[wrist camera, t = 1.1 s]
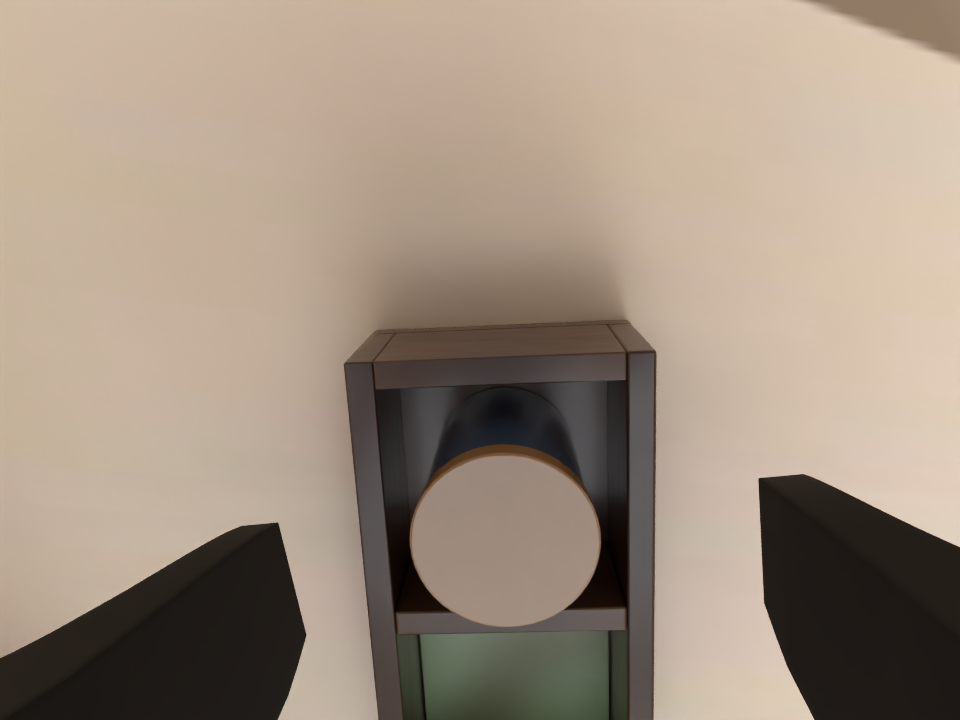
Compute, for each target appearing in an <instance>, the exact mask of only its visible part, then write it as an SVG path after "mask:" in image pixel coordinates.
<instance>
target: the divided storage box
mask: <svg viewBox="0 0 960 720" xmlns="http://www.w3.org/2000/svg"><path fill="white" fill-rule="evenodd" d="M344 371H345V381H346V391H347V401H348V412H349V422H350V432H351V442H352V453H353V463H354V473H355V483H356V494H357V504H358V514H359V524H360V535H361V545H362V555H363V565H364V576H365V586H366V596H367V606H368V617H369V627H370V637H371V648H372V658H373V668H374V678H375V689H376V699H377V709H378V719H379V720H653V718H654V596H655V474H656V351H655V350H654V349H653V348H652V347H651V345H650V344H649V343H648V342H647V341H646V340H645V339H644V338H643V337H642V336H641V335H640V334H639V332H638V331H637V330H636V329H635V328H634V327H633V326H632V325H631V323H630V322H629V321H628V320H613V321H589V322H565V323H541V324H517V325H494V326H470V327H446V328H422V329H398V330H377V331H375V332H374V333H373V334H372V335H371V336H370V337H369V338H368V339H367V340H366V341H365V342H364V343H363V344H362V345H361V346H360V347H359V348H358V349H357V350H356V352H355V353H354V354H353V355H352V356H351V357H350V358H349V359H348V360H347V361H346V362H345V363H344ZM501 387H511V388H518V389H523V390H526V391H530V392H532V393H535V394H537V395H539V396H541V397H542V398H544V399H546V400H547V401H548V402H549V403H551V404H552V405H553V406H554V407H555V408H556V409H557V410H558V411H559V412H560V414H561V415H562V416H563V418H564V419H565V421H566V423H567V425H568V427H569V429H570V432H571V435H572V439H573V443H574V447H575V450H576V454H577V458H578V462H579V466H580V470H581V474H582V477H583V481H584V485H585V487H586V489H587V491H588V492H589V494H590V496H591V498H592V501H593V504H594V506H595V509H596V513H597V517H598V521H599V525H600V532H601V550H600V556H599V560H598V564H597V567H596V570H595V572H594V574H593V576H592V578H591V580H590V582H589V584H588V585H587V587H586V588H585V589H584V591H583V592H582V593H581V595H580V596H579V597H578V598H577V599H576V600H575V601H574V602H573V603H572V604H570V605H569V606H568V607H567V608H565V609H564V610H562V611H561V612H559V613H558V614H556V615H554V616H552V617H550V618H548V619H546V620H543V621H540V622H537V623H534V624H530V625H525V626H519V627H494V626H488V625H483V624H479V623H475V622H472V621H470V620H467V619H465V618H462V617H460V616H459V615H457V614H455V613H453V612H451V611H450V610H449V609H447V608H446V607H445V606H443V605H442V604H441V603H440V602H439V601H438V600H436V599H435V598H434V597H433V596H432V594H431V593H430V592H429V591H428V590H427V588H426V587H425V585H424V584H423V582H422V581H421V579H420V577H419V575H418V573H417V571H416V569H415V566H414V563H413V560H412V556H411V550H410V527H411V521H412V518H413V514H414V511H415V507H416V504H417V501H418V499H419V496H420V494H421V492H422V490H423V488H424V487H425V485H426V484H427V481H428V477H429V474H430V470H431V466H432V463H433V459H434V456H435V452H436V448H437V445H438V441H439V438H440V434H441V431H442V428H443V426H444V424H445V422H446V420H447V419H448V417H449V415H450V414H451V413H452V412H453V410H454V409H455V408H456V407H457V406H458V405H459V404H461V403H462V402H463V401H464V400H466V399H467V398H469V397H471V396H473V395H474V394H476V393H479V392H482V391H484V390H488V389H493V388H501Z"/></svg>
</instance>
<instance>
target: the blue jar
mask: <svg viewBox="0 0 960 720" xmlns="http://www.w3.org/2000/svg"><path fill="white" fill-rule="evenodd" d="M410 550H411V556H412V560H413V563H414V566H415V569H416V571H417V573H418V575H419V577H420V579H421V581H422V582H423V584H424V585H425V587H426V588H427V590H428V591H429V592H430V593H431V594H432V596H433V597H434V598H435V599H436V600H438V601H439V602H440V603H441V604H442V605H443V606H445V607H446V608H447V609H449V610H450V611H451V612H453V613H455V614H457V615H459V616H460V617H462V618H465V619H467V620H470V621H472V622H475V623H479V624H483V625H488V626H494V627H519V626H525V625H530V624H534V623H537V622H540V621H543V620H546V619H548V618H550V617H552V616H554V615H556V614H558V613H559V612H561V611H562V610H564V609H565V608H567V607H568V606H569V605H570V604H572V603H573V602H574V601H575V600H576V599H577V598H578V597H579V596H580V595H581V593H582V592H583V591H584V589H585V588H586V587H587V585H588V584H589V582H590V580H591V578H592V576H593V574H594V572H595V570H596V567H597V564H598V560H599V556H600V550H601V532H600V525H599V521H598V517H597V513H596V509H595V506H594V504H593V501H592V498H591V496H590V494H589V492H588V491H587V489H586V487H585V485H584V481H583V477H582V474H581V470H580V466H579V462H578V458H577V454H576V450H575V447H574V443H573V439H572V435H571V432H570V429H569V427H568V425H567V423H566V421H565V419H564V418H563V416H562V415H561V414H560V412H559V411H558V410H557V409H556V408H555V407H554V406H553V405H552V404H551V403H549V402H548V401H547V400H546V399H544V398H542V397H541V396H539V395H537V394H535V393H532V392H530V391H526V390H523V389H518V388H511V387H501V388H493V389H488V390H484V391H482V392H479V393H476V394H474V395H473V396H471V397H469V398H467V399H466V400H464V401H463V402H462V403H461V404H459V405H458V406H457V407H456V408H455V409H454V410H453V412H452V413H451V414H450V415H449V417H448V419H447V420H446V422H445V424H444V426H443V428H442V431H441V434H440V438H439V441H438V445H437V448H436V452H435V456H434V459H433V463H432V466H431V470H430V474H429V477H428V481H427V484H426V485H425V487H424V488H423V490H422V492H421V494H420V496H419V499H418V501H417V504H416V507H415V511H414V514H413V518H412V521H411V527H410Z"/></svg>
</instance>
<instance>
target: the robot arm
mask: <svg viewBox="0 0 960 720" xmlns="http://www.w3.org/2000/svg"><path fill="white" fill-rule="evenodd" d="M759 500H760V521H761V543H762V565H763V586H764V604H765V606H766V609H767V612H768V615H769V618H770V621H771V623H772V626H773V629H774V632H775V635H776V638H777V640H778V643H779V645H780V648H781V651H782V653H783V656H784V659H785V661H786V664H787V667H788V669H789V671H790V673H791V675H792V677H793V679H794V681H795V683H796V684H797V686H798V688H799V690H800V692H801V694H802V696H803V698H804V700H805V702H806V704H807V706H808V708H809V710H810V712H811V714H812V716H813V718H814V719H815V720H960V547H958V546H956V545H953V544H951V543H949V542H947V541H944V540H942V539H940V538H938V537H936V536H933V535H931V534H929V533H927V532H925V531H923V530H920V529H918V528H916V527H914V526H912V525H910V524H908V523H906V522H904V521H902V520H899V519H897V518H895V517H893V516H891V515H889V514H887V513H885V512H883V511H881V510H879V509H877V508H875V507H873V506H871V505H869V504H867V503H865V502H863V501H861V500H859V499H857V498H855V497H853V496H851V495H849V494H847V493H845V492H843V491H841V490H839V489H837V488H835V487H832V486H830V485H828V484H826V483H824V482H822V481H820V480H817V479H815V478H812V477H810V476H807V475H804V474H800V475H789V476H779V477H768V478H759ZM305 638H306V632H305V628H304V624H303V620H302V616H301V612H300V608H299V604H298V600H297V596H296V592H295V588H294V584H293V580H292V576H291V572H290V568H289V564H288V560H287V556H286V552H285V548H284V544H283V540H282V536H281V532H280V528H279V524H278V523H269V524H258V525H247V526H240V527H238V528H236V529H233V530H231V531H229V532H226V533H224V534H222V535H220V536H219V537H217V538H215V539H213V540H211V541H209V542H207V543H206V544H204V545H202V546H200V547H199V548H197V549H195V550H193V551H192V552H190V553H188V554H186V555H185V556H183V557H181V558H180V559H178V560H176V561H175V562H173V563H171V564H170V565H168V566H166V567H165V568H163V569H161V570H160V571H158V572H156V573H155V574H153V575H151V576H150V577H148V578H146V579H144V580H143V581H141V582H139V583H138V584H136V585H134V586H133V587H131V588H129V589H128V590H126V591H124V592H123V593H121V594H119V595H117V596H116V597H114V598H112V599H110V600H109V601H107V602H105V603H103V604H101V605H100V606H98V607H96V608H94V609H92V610H91V611H89V612H87V613H85V614H84V615H82V616H80V617H78V618H76V619H75V620H73V621H71V622H69V623H68V624H66V625H64V626H62V627H60V628H59V629H57V630H55V631H53V632H51V633H50V634H48V635H46V636H44V637H42V638H40V639H38V640H36V641H34V642H32V643H30V644H28V645H26V646H24V647H22V648H20V649H18V650H16V651H15V652H13V653H11V654H8V655H6V656H4V657H2V658H0V720H278V717H279V715H280V713H281V711H282V708H283V706H284V704H285V702H286V699H287V697H288V694H289V691H290V688H291V685H292V682H293V679H294V676H295V673H296V670H297V666H298V663H299V659H300V656H301V652H302V649H303V645H304V642H305Z"/></svg>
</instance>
